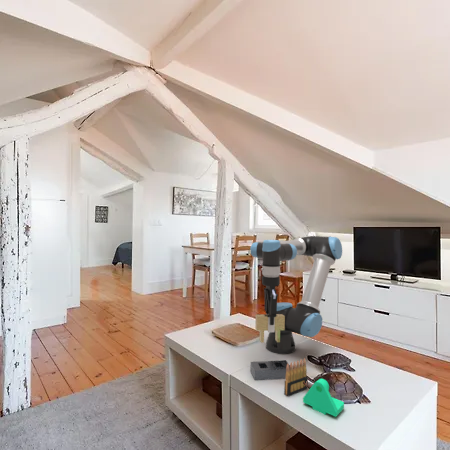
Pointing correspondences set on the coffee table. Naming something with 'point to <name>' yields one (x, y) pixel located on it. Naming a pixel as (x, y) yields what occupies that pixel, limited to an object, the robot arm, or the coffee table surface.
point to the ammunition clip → (295, 378)
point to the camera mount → (323, 399)
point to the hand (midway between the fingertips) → (270, 330)
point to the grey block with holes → (269, 370)
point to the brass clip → (262, 325)
